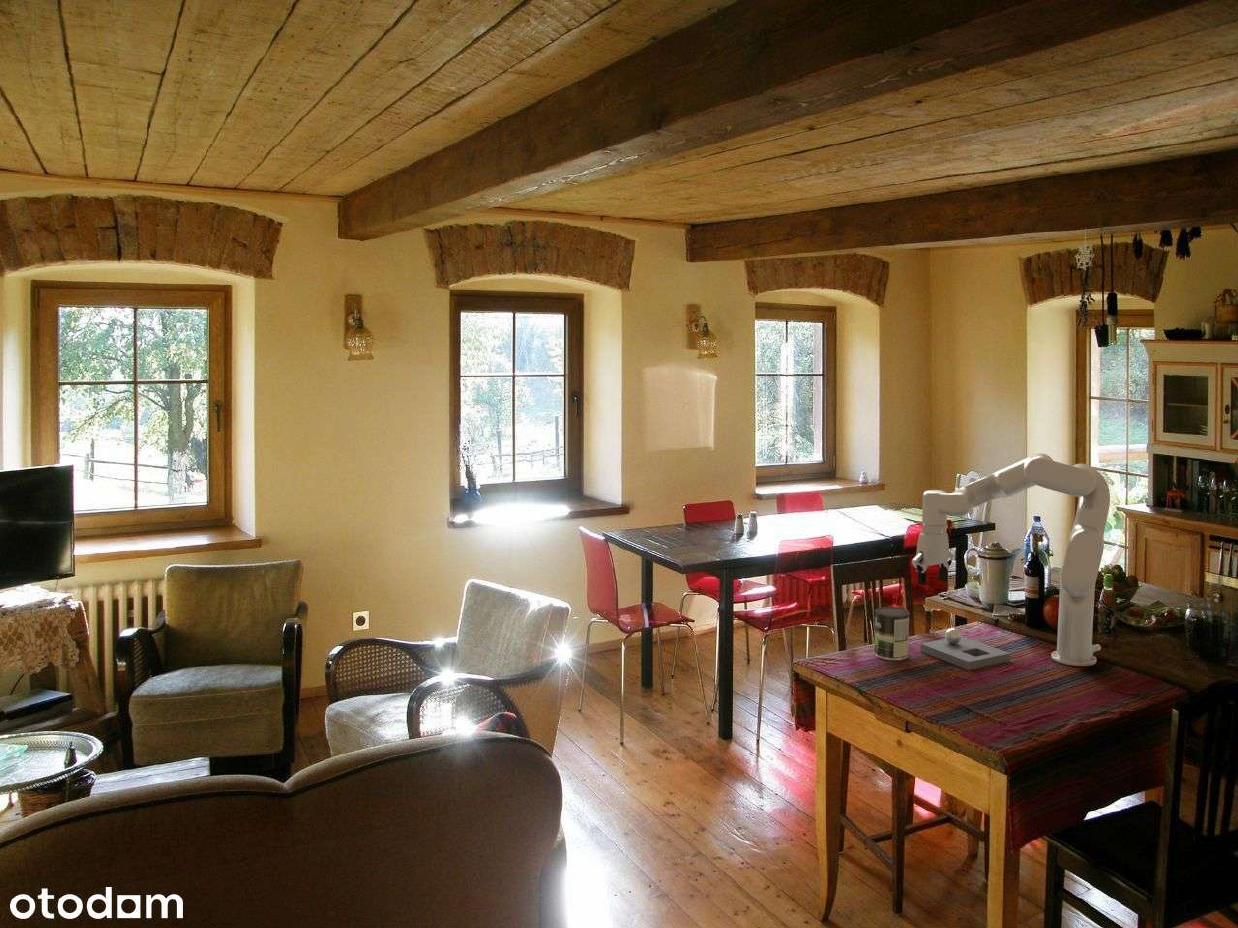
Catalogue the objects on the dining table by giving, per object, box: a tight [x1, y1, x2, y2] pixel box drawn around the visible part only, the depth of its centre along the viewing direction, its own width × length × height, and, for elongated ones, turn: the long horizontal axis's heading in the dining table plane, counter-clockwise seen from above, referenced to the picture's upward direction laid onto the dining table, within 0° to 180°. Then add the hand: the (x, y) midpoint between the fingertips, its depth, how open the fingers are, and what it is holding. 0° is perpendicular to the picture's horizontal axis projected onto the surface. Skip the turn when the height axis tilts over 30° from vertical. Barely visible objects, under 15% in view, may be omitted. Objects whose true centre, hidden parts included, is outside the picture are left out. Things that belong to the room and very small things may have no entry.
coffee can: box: [873, 606, 911, 661], centre depth 312 cm, size 10×10×14 cm
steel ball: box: [944, 627, 962, 644], centre depth 315 cm, size 5×5×5 cm
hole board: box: [920, 635, 1011, 671], centre depth 311 cm, size 17×20×2 cm
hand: (932, 582), depth 321 cm, fingers open, 8 cm apart
